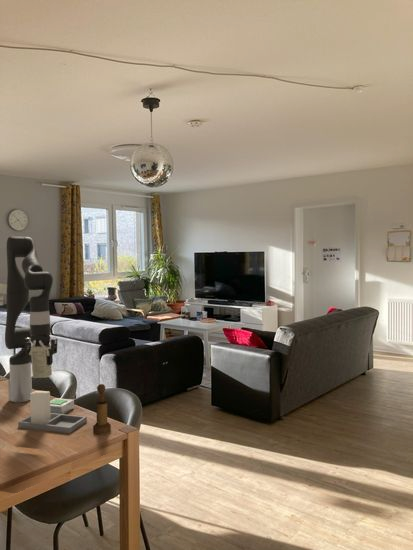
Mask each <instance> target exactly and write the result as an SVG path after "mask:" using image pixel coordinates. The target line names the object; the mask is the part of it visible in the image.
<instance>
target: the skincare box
mask: <svg viewBox="0 0 413 550" xmlns="http://www.w3.org/2000/svg"><path fill="white" fill-rule="evenodd" d="M48 347H49V346H46V348H48ZM48 351H49V350H48ZM31 359H32V364H31V376H32V378H33V379H35V378H36V379H37V378H40V379H41V378H45V379H48V378H49V377H51V376H52V375H53V374H52V364H51V365H47V354H46V350H44V347H42V346H35V347H32V346H31Z"/></svg>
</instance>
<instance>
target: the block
mask: <svg viewBox="0 0 413 550" xmlns="http://www.w3.org/2000/svg"><path fill="white" fill-rule="evenodd" d="M50 401H51V392H50V391H48V390H47V391H45V390H35V391H32V393H30V400H29V402H30V403H29V404H30V415H31V423H40V424H45V423H46V422H48V421H50V420H51V412H50Z"/></svg>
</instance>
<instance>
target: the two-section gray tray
mask: <svg viewBox="0 0 413 550" xmlns="http://www.w3.org/2000/svg"><path fill="white" fill-rule="evenodd" d="M87 419H88V418H87V416H84V415H83V416H82V415H74V414H66V413H65V414H56V413H51V420H50V421H48V422H46V423H45V424H40V423H31V414H30V415H29V416H27V417H25V418H23V419H21V420H19V421H17V424H18V425H17V426H18V427H17V428H19V429H27V430H28V429H30V430H38V431H47V432H52V433H53V432H54V433H62V434H71V433H73V432H74V431H76V430H78V429H79V428H80V427H82V426H83V425H84V424H86V423H87V422H88V420H87Z"/></svg>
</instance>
